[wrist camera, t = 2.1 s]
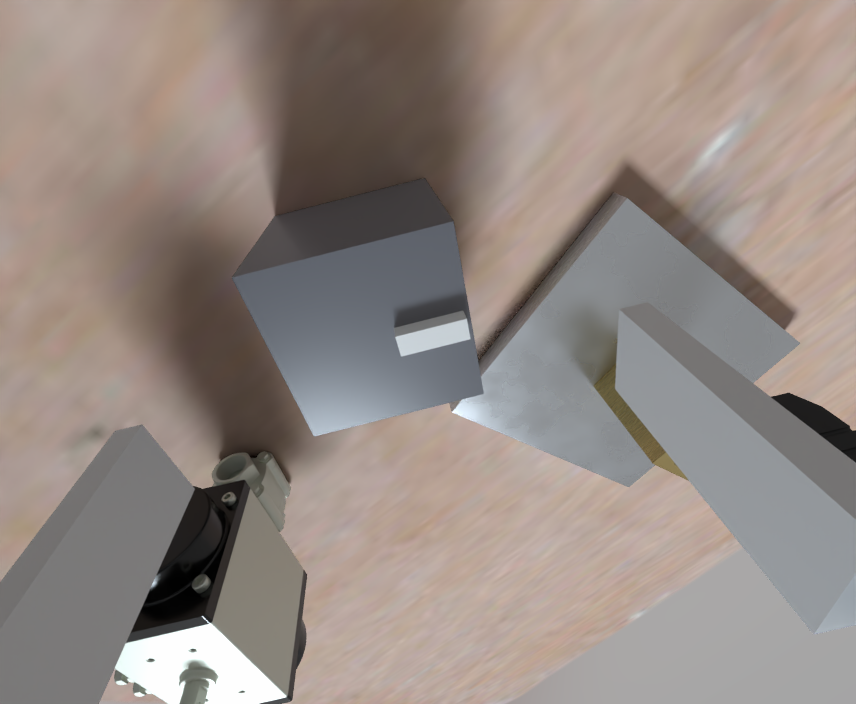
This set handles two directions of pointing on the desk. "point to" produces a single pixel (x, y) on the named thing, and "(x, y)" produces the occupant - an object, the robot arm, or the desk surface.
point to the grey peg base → (610, 343)
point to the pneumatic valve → (223, 597)
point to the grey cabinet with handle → (364, 306)
